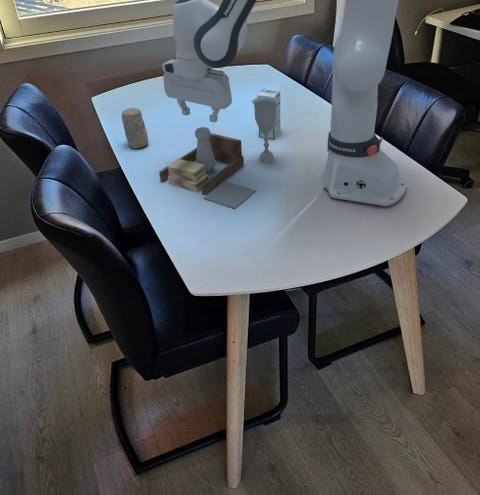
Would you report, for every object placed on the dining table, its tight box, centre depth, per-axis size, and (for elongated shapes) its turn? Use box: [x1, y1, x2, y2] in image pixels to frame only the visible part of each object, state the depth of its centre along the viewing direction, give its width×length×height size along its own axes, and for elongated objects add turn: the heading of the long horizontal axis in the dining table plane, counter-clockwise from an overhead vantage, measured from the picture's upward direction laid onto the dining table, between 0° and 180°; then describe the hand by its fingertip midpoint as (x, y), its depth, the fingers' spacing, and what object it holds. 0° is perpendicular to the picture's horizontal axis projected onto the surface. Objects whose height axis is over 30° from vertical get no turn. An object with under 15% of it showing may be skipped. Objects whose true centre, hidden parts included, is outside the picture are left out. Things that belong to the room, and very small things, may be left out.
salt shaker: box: [194, 126, 217, 175], centre depth 137 cm, size 6×6×13 cm
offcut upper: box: [167, 158, 207, 182], centre depth 134 cm, size 9×5×3 cm, turn 61°
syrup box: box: [256, 88, 282, 140], centre depth 154 cm, size 6×6×14 cm
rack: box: [158, 132, 245, 196], centre depth 138 cm, size 16×19×8 cm
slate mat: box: [203, 181, 257, 210], centre depth 130 cm, size 10×10×1 cm
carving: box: [121, 107, 149, 149], centre depth 154 cm, size 6×8×12 cm
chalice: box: [251, 97, 278, 165], centre depth 139 cm, size 7×7×18 cm
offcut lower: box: [167, 174, 210, 193], centre depth 136 cm, size 10×6×3 cm, turn 57°
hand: (199, 117), depth 132 cm, fingers open, 8 cm apart
